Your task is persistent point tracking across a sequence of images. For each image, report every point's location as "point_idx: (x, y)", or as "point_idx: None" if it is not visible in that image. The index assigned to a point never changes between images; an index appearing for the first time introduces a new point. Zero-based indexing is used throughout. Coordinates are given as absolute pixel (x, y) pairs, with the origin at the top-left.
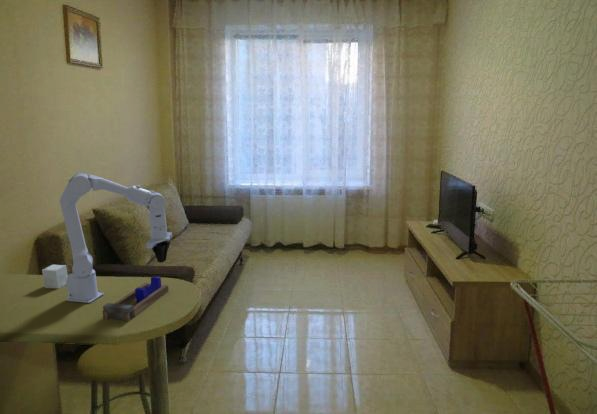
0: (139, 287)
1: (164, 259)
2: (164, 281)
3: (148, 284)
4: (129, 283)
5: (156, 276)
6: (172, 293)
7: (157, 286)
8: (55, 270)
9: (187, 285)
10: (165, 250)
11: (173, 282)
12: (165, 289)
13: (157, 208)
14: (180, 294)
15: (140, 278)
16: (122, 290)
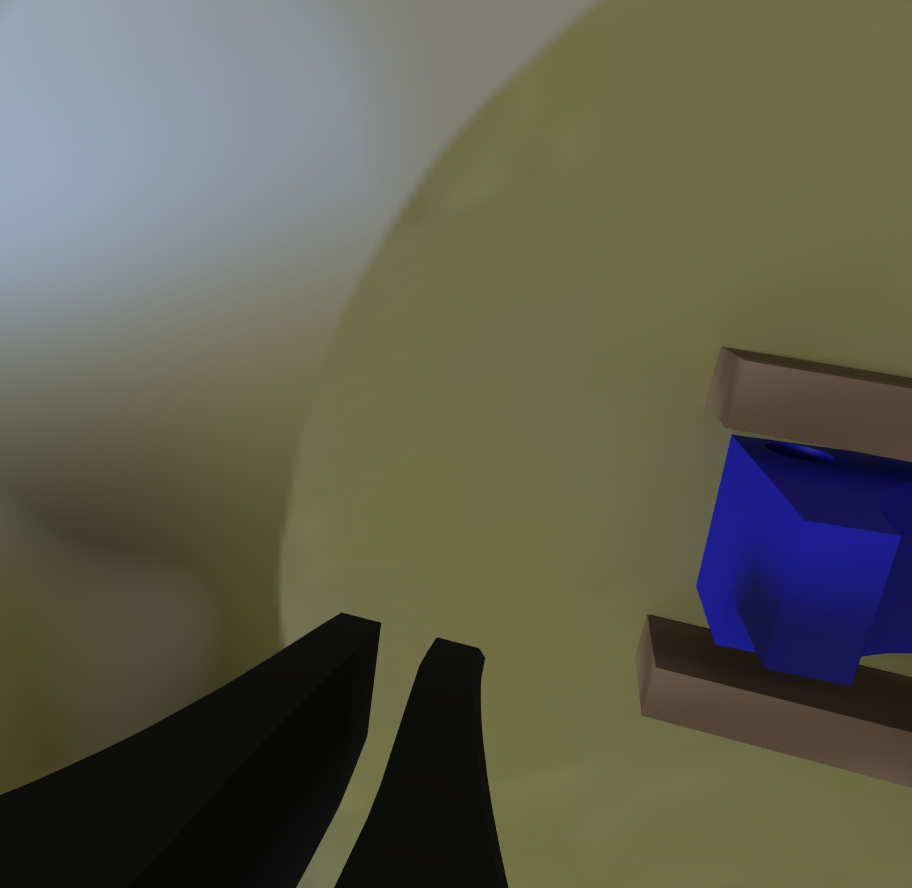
0: (817, 746)
1: (362, 656)
2: (377, 511)
3: (660, 659)
4: None
5: (784, 601)
6: (810, 258)
7: (887, 496)
8: None
9: (497, 138)
10: (182, 859)
11: (400, 388)
12: (823, 369)
13: None
14: (870, 104)
15: None
16: (654, 876)
